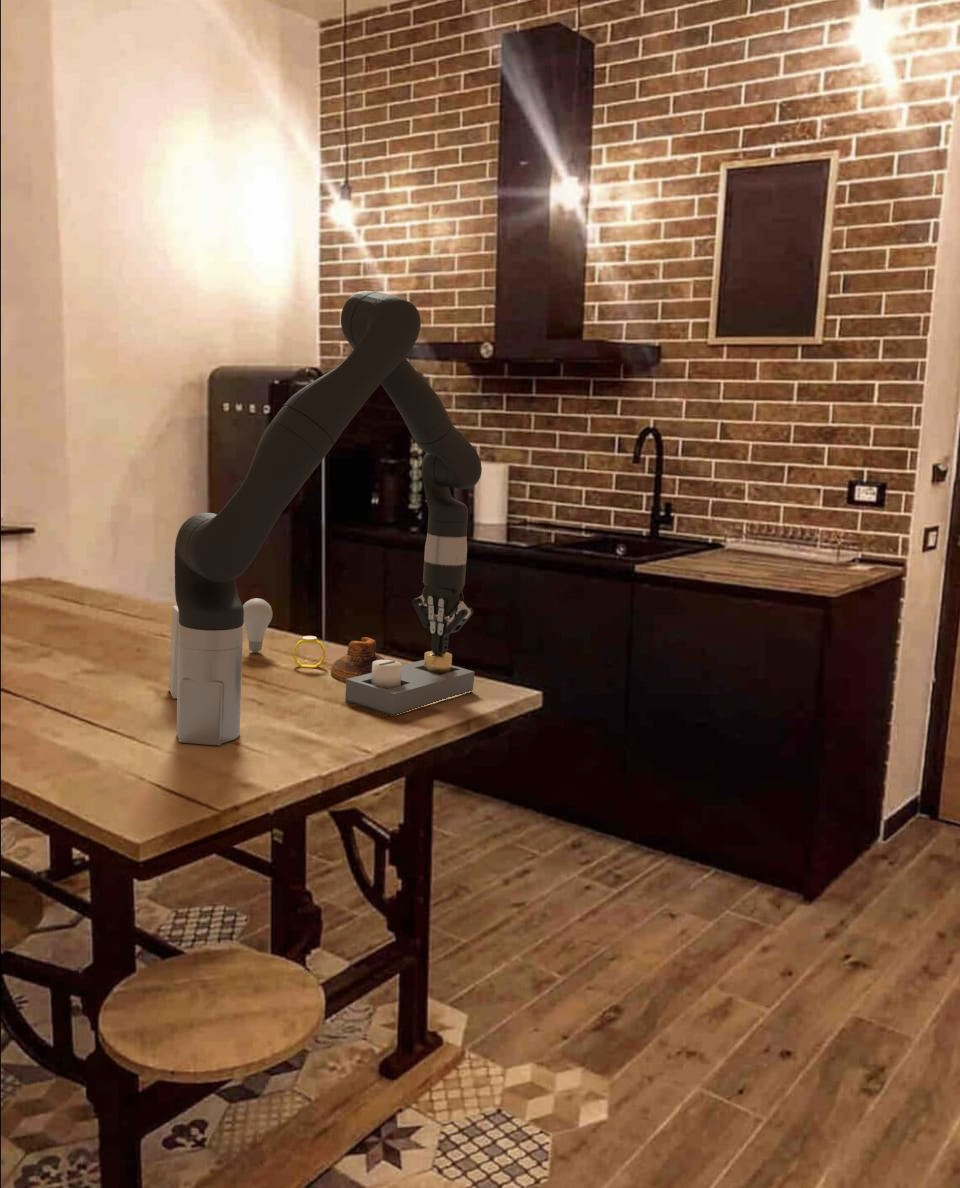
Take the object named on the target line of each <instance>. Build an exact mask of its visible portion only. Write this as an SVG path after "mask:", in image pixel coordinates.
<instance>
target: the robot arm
mask: <svg viewBox="0 0 960 1188" xmlns="http://www.w3.org/2000/svg"><path fill="white" fill-rule="evenodd" d="M421 321H422V320H421V314H420V311H419V309H418V308H417V307H416V306H415V305H414V304H413V303H412V302H411V301H410V300H409V301H408V300H406V299H404V298H402V297H398V296H394V295H390V294H386V293H382V292H379V291H373V290H372V291H370V290H363V291H358V292H356V293H355V292H354V294H352V295H351V296H349V297H348V298H347V300H346V301H345V303H344V305H343V307H342V310H341V313H340V327H341V330H342V331H341V332H342V333H343V336H344V337H345V339H346V341H347V343H348V344H349V345H350V346H351V348H352V349H353V350H352V351H351V352H350V353H349V354H348V356H347V357H346V358H344V359H343V361H341V362H340V364H338V365H337V366H336V367H334V368H333V369H331V370H330V371H329V372H327V373H325V374H324V375H322V376H320V377H318V378H317V379H315V380H313V381H311V382H310V383H309V384H307V385H306V386H304V387H302V388H301V389H299V390H298V391H297V392H295V393H294V394H293V395H291V396H290V398H288V400H287V401H286V402H284V404H283V406H282V407H280V410H279V411H278V412H277V414H276V415H275V416H274V417H273V419H272V420H271V422H270V423H269V424H268V425H267V427H266V429H265V430H264V432H262V435H261V438H260V440H259V441H258V444H257V447H256V449H255V452H254V454H253V457H252V461H251V463H250V467H249V470H248V472H247V474H246V476H245V478H244V479H243V482H242V483H241V485H240V486H239V487H238V489H237V491H235V493H234V494H233V495H232V497H231V498H230V499H229V500H228V502H227V503H226V504H225V505H224V506H223V508H222V509H221V510H220V511H219V512H218V513H213V512H201V513H197V514H194V515H192V516H190V517H189V518H187V519H186V520H185V521H184V522H183V524H182V525H181V526H180V527H179V530H178V532H177V534H176V539H175V544H174V545H175V546H174V596H175V601H176V602H175V603H176V606H178V610H179V644H178V685H177V698H176V699H177V700H176V736H177V738H178V742H179V743H184V744H185V743H186V744H194V745H195V744H197V745H205V746H206V745H209V746H221V745H222V744H224V743H228V742H231V741H233V740H234V741H235V740H236V739H237V738H238V737H239V736H240V734H241V708H242V707H241V706H242V704H241V703H242V702H241V701H242V677H243V676H242V675H243V674H242V673H243V650H244V649H243V647H244V608H243V605H244V604H243V602H242V601H241V598H240V596H239V594H238V588H237V578H239V577H240V576H242V575H243V574H244V573H245V572H246V571H247V569H248V568H249V567H250V566H251V564H252V563H253V561H254V560H255V558H256V557H257V556H258V555H257V554H258V553H259V551H260V550H261V548H262V546H263V544H264V543H265V542H266V541H265V540H266V539H267V538H268V536H269V534H270V533H271V532H272V529H273V527H274V526H275V524H276V523H277V521H278V519H279V517H280V516H281V515H282V514H283V512H284V510H285V509H286V508H287V506H289V504H290V502H291V501H293V499H294V498H295V496H296V495H297V494H298V492H299V491H300V490H301V488H302V487H303V486H304V484H305V483H306V482H307V480H308V479H309V478H310V477H311V475H312V474H313V472H314V471H315V470H316V469H317V467H318V466H320V464H321V463H322V461H323V459H325V457H326V456H327V454H328V453H329V452H330V450H331V449H332V448H333V446H334V445H335V444H336V442H337V440H338V439H339V438H340V436H341V435H342V433H343V432H344V430H345V429H346V428H347V427H348V425H350V423H351V421H352V420H353V419H354V417H355V416H356V415H357V414H358V412H359V411H360V410H361V408H362V407H363V406H364V405H365V404H366V402H367V401H368V399H369V398H370V397H371V396H372V395H373V394H374V392H375V391H376V390H377V389H378V388H379V386H382V388H383V389H384V390H385V393H387V395H388V396H389V398H390V400H391V401H392V402H393V404H394V406H395V407H396V409H397V411H398V413H399V414H400V415H401V418H402V419H403V421H404V423H405V426H406V427H407V429H408V431H409V433H410V434H411V437H412V438H413V440H414V443H416V445H417V447H418V448H419V449H420V450H421V451H423V452H425V454H424V456H423V459H422V462H421V463H422V464H421V478H422V482H423V488H424V492H425V498H426V499H425V500H426V503H427V507H428V516H427V517H428V520H427V535H426V540H425V545H424V556H423V557H424V561H423V575H422V576H423V577H422V583H423V584H424V587H423V589H422V593H421V595H420V596H418V597H415V598H413V599H411V604H412V606H413V607H414V610H415V612H416V615H417V616H418V618H419V620H420V623H421V625H422V626H423V628H424V629H428V630H429V631H430V633H431V642H430V648H431V651H432V652H433V653H434V654H437V655H442V654H445V653H446V652H448V650H449V640H450V639H449V637H450V634H453V633H458V632H459V631H460V630H461V628H462V627H463V626H464V625H465V623H466V622H467V621H468V620H469V619H470V617H471V616H472V615H473V614H474V609H473V608H472V607H468V606H467V604H466V603H465V602H464V600H465V598H464V595H463V589H464V587H465V584H466V583H465V582H466V571H467V570H466V569H467V559H468V557H467V556H468V555H467V554H468V543H467V542H468V539H467V536H468V535H467V534H468V521H469V508H468V506H467V504H465V503H464V502H461V501H459V500H457V499H455V498H454V497H453V496H452V492H451V489H452V488H454V489H460V490H467V489H470V488H473V487H474V486H476V485H477V484H478V483H479V481H480V479H481V476H482V460H481V457H480V455H479V454H478V452H477V450H476V448H475V447H474V446H473V444H471V442H470V441H469V440H467V438H466V437H465V436H464V435H463V434H462V432H460V430H458V429H457V428H456V426H454V424H453V422H452V420H451V418H450V415H449V414H448V412H447V409H446V408H445V405H444V404H443V402H442V400H441V399H440V397H439V395H438V394H437V393H436V391H435V390H434V388H432V387H431V385H430V384H429V383H428V382H427V381H426V380H425V379H424V377H423V376H422V374H420V373H419V372H418V371H417V370H416V369H415V367H414V366H413V365H412V364H411V362H410V361H409V360H408V359H407V357H408V355H409V353H410V352H411V351H412V349H413V348H414V346H415V345H416V342H417V340H418V339H419V336H420V332H421V325H422V323H421ZM450 488H451V489H450ZM455 614H456V615H455Z"/></svg>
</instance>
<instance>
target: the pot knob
mask: <svg viewBox="0 0 960 1188" xmlns="http://www.w3.org/2000/svg"><path fill="white" fill-rule="evenodd" d="M402 665H403V664H402V662H400V661H397V660H392V659H385V660H376V661H373V663H372V680H371V684H372V685H375V686H378V687H381V688H385V689H391V688H394V687H398V686H400V685H401V670H402Z"/></svg>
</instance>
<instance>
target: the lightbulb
mask: <svg viewBox="0 0 960 1188" xmlns="http://www.w3.org/2000/svg"><path fill="white" fill-rule="evenodd" d="M242 605H243V608H244V623H243V626H244V627H245V630H246V634H247V641H248V650H249V651H250V652H252V654H253V653H254V654H257V653H259V652H260V651H262V650H263V649H262V648H263V641H264V639H265V634H266V630H267V628H268V626H270V623H271V621H272V619H273V613H274V612H273V609H272V606H271V605H270V603H269V602H267V601H266V600H265V599H263V598H257V597H255V598H250V599H249V600H247V601H246V602H244V604H242Z"/></svg>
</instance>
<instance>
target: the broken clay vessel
mask: <svg viewBox="0 0 960 1188" xmlns="http://www.w3.org/2000/svg"><path fill="white" fill-rule="evenodd" d="M376 644H377V643H376V640H375V639H373V638H370V637H365V636H364V637H361V639H360V641H359V640H351V641H350V642H349V643H348V644H347V646H348V649H347V653H346V654H345V655H343V656H342V657H339V658H338V659H336V660H335V661H333V663H332V665H331V667H330V674H331V676H333V678H335V679H336V680H337V681H342V682H344V683H346V679H349V678H353V677H357V676H361V675H365V674H369V673H372V663H373V661H376V660H386V659H385V658H384V657H383V656H381V655H379V654H376V653H377V652H376V649H377V647H376V646H377V645H376Z"/></svg>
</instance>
